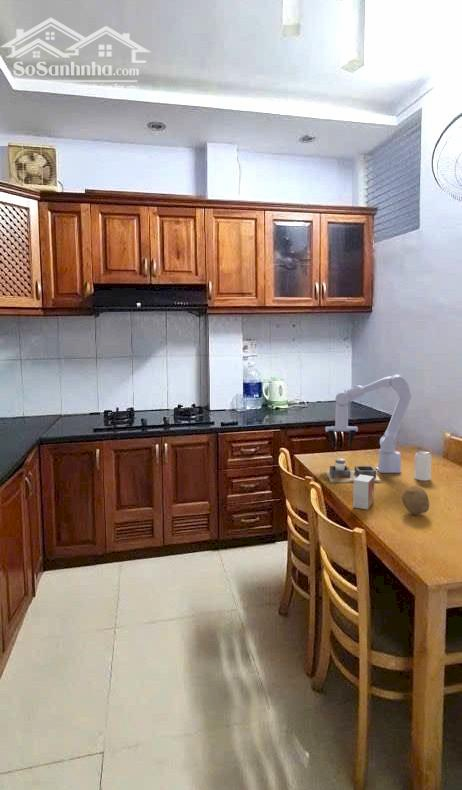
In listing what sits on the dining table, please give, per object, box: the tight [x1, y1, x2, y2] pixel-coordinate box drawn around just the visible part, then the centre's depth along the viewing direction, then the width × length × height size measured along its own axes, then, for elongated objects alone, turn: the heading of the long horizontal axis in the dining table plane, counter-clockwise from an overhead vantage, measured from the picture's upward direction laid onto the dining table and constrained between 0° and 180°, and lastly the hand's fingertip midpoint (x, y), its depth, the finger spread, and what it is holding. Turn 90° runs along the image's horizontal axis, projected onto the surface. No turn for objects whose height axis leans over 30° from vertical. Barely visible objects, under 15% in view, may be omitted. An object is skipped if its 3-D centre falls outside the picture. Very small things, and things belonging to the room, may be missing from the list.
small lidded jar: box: [334, 457, 346, 471], centre depth 207 cm, size 4×4×7 cm
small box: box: [352, 474, 375, 510], centre depth 174 cm, size 8×6×10 cm
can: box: [413, 449, 432, 482], centre depth 203 cm, size 6×6×12 cm
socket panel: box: [325, 465, 382, 483], centre depth 207 cm, size 21×14×4 cm, turn 87°
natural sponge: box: [401, 485, 430, 516], centre depth 165 cm, size 9×9×10 cm
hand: (341, 446), depth 220 cm, fingers open, 7 cm apart
